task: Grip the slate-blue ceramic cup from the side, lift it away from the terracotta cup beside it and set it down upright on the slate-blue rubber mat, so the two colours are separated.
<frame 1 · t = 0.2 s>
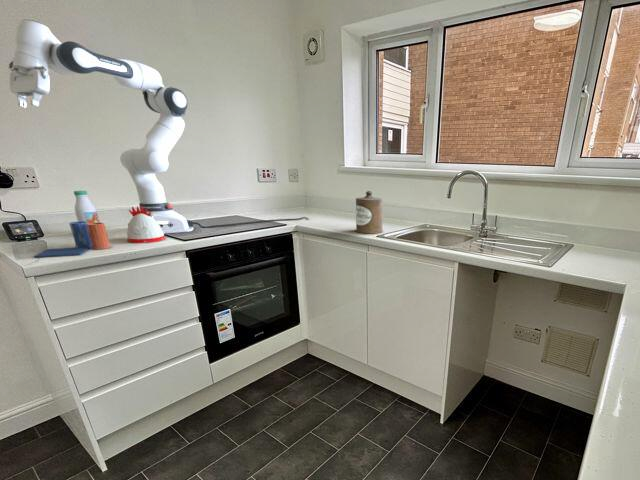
hand: (28, 106, 130), 52 cm above the countertop, tool tilted 20°, fingers open, 8 cm apart
milk bottle: (92, 234, 168), on the countertop
terracotta cup: (101, 247, 144), on the countertop
blue mat: (63, 252, 135), on the countertop
wooden container: (369, 231, 199), on the countertop
white crested dome: (147, 240, 161), on the countertop
blue cup: (85, 246, 145), on the countertop
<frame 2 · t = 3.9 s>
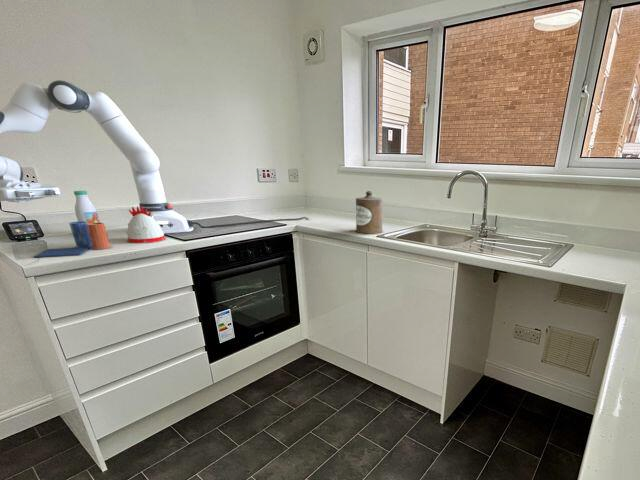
hand: (45, 193, 140), 21 cm above the countertop, tool horizontal, fingers open, 8 cm apart
nothing on the countertop moved.
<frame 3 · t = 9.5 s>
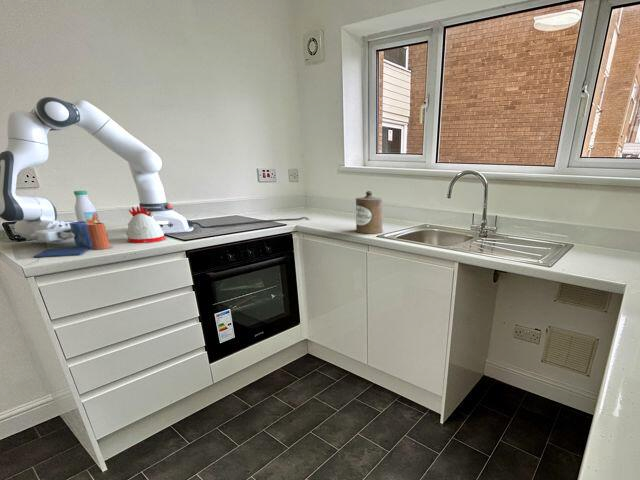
hand: (83, 233, 143), 6 cm above the countertop, tool horizontal, fingers closed on blue cup, 6 cm apart
blue cup: (85, 246, 145), on the countertop, touching gripper
everything else where it was.
when the fingers open (6 cm above the countertop, at t = 16.9 s): blue cup stays where it is, resting on blue mat.
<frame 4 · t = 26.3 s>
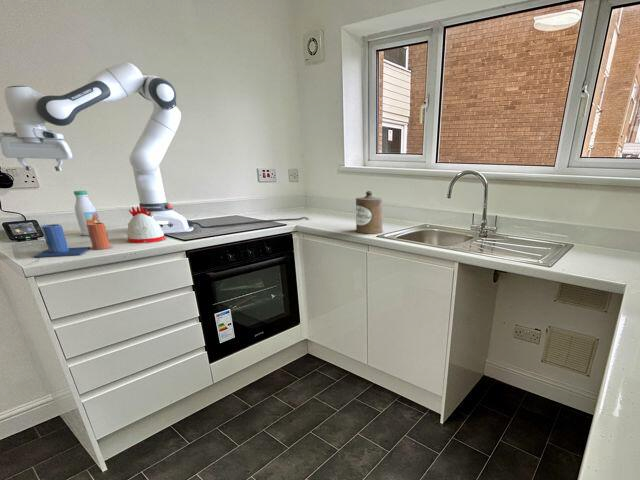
hand: (44, 170, 142), 29 cm above the countertop, tool pointing down, fingers open, 8 cm apart
blue cup: (59, 251, 135), point 1 cm above the countertop, touching blue mat
everything else where it was.
at the end: blue cup inside the target area on the blue mat (1.2 cm from its centre), point 0.6 cm above the blue mat's base; blue cup tilted 0°; terracotta cup moved 0.0 cm from its start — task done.
